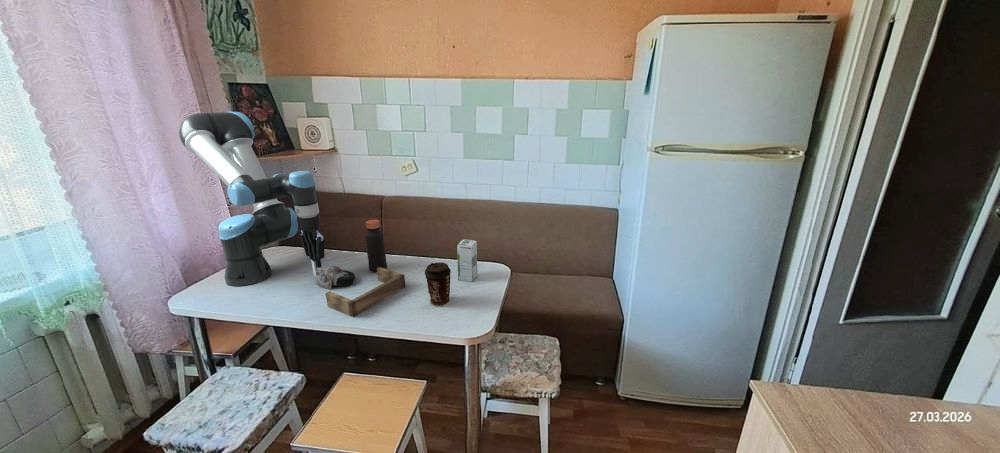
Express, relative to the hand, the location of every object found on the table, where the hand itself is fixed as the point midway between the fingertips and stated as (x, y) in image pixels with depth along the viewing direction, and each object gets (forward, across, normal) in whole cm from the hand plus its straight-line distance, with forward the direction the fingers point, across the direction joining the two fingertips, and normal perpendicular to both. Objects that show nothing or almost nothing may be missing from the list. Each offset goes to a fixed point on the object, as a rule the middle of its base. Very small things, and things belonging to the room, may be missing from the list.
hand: (318, 274), depth 149 cm
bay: (+2, +26, 0) cm, 26 cm away
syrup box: (+2, +48, +29) cm, 56 cm away
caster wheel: (+2, +10, +1) cm, 10 cm away
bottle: (+2, +13, +17) cm, 22 cm away
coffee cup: (+2, +50, +10) cm, 51 cm away
